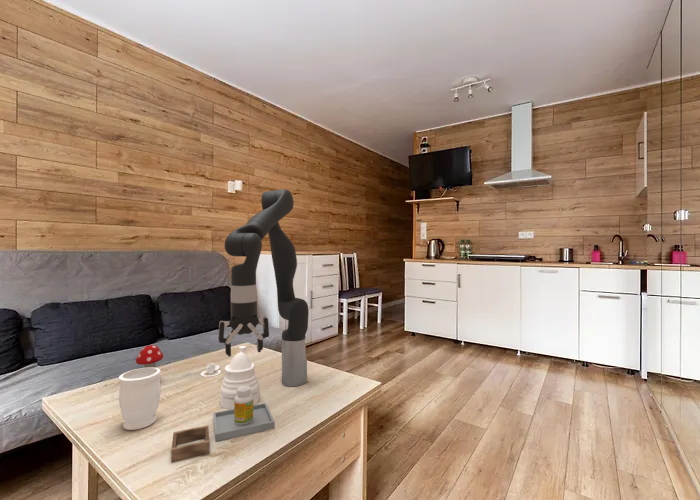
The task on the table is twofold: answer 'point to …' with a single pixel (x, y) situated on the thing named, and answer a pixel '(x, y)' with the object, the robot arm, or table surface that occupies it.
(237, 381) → the honey pot
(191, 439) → the holder
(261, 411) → the tray
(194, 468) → the table surface
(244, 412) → the supplement bottle
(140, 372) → the jar
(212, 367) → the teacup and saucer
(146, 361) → the decorative mushroom
